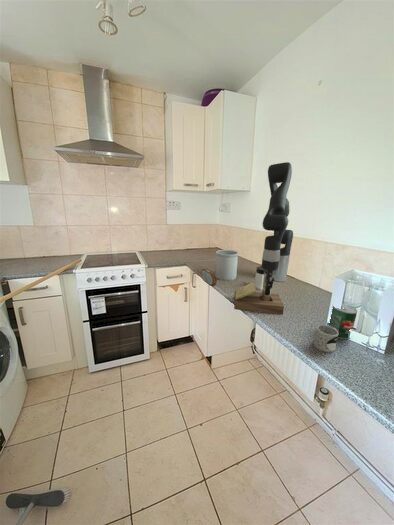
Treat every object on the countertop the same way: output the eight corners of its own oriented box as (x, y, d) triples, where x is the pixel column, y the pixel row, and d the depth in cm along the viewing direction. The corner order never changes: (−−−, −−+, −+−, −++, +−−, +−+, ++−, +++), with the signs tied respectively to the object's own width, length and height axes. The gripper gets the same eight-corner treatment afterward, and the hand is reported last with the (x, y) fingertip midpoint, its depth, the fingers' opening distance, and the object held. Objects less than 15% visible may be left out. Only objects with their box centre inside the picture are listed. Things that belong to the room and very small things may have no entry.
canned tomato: (330, 325, 91) (335, 301, 88) (352, 333, 86) (359, 308, 83) (325, 333, 85) (330, 307, 82) (348, 342, 80) (355, 315, 77)
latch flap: (236, 291, 113) (235, 289, 113) (254, 283, 110) (253, 282, 110) (236, 300, 102) (235, 298, 102) (256, 291, 100) (255, 290, 100)
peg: (261, 296, 108) (263, 274, 105) (269, 297, 107) (272, 274, 104) (261, 300, 104) (264, 276, 101) (270, 301, 103) (273, 277, 100)
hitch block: (234, 297, 116) (234, 290, 115) (277, 301, 112) (278, 294, 111) (234, 309, 102) (234, 301, 101) (282, 314, 99) (284, 306, 98)
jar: (257, 290, 126) (259, 270, 122) (251, 285, 133) (253, 266, 130) (271, 289, 127) (274, 270, 124) (265, 284, 135) (267, 266, 131)
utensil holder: (215, 280, 139) (217, 254, 134) (213, 273, 153) (214, 249, 148) (238, 281, 139) (240, 254, 134) (234, 273, 153) (236, 249, 149)
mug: (329, 355, 73) (332, 338, 71) (309, 344, 78) (312, 328, 76) (342, 345, 78) (346, 329, 76) (323, 335, 84) (327, 320, 82)
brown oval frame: (216, 287, 128) (217, 273, 126) (212, 288, 127) (212, 274, 125) (204, 279, 141) (205, 266, 139) (200, 279, 140) (201, 267, 138)
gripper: (260, 254, 108) (257, 286, 112) (264, 262, 94) (260, 298, 99) (276, 255, 106) (272, 288, 111) (282, 263, 93) (277, 300, 97)
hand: (266, 292), depth 105 cm, fingers closed on peg, 4 cm apart
